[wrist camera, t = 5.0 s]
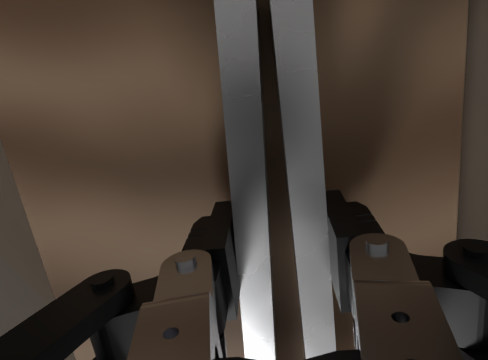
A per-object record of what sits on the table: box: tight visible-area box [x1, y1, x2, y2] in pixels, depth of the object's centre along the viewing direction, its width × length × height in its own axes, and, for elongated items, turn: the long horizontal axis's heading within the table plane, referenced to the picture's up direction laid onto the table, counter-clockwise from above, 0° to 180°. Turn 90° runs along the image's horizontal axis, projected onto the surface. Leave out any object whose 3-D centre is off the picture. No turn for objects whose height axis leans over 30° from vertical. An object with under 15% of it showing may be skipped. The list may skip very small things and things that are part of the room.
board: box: [0, 0, 469, 360], centre depth 16 cm, size 34×16×2 cm, turn 8°
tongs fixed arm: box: [268, 0, 336, 359], centre depth 13 cm, size 28×3×3 cm, turn 8°
